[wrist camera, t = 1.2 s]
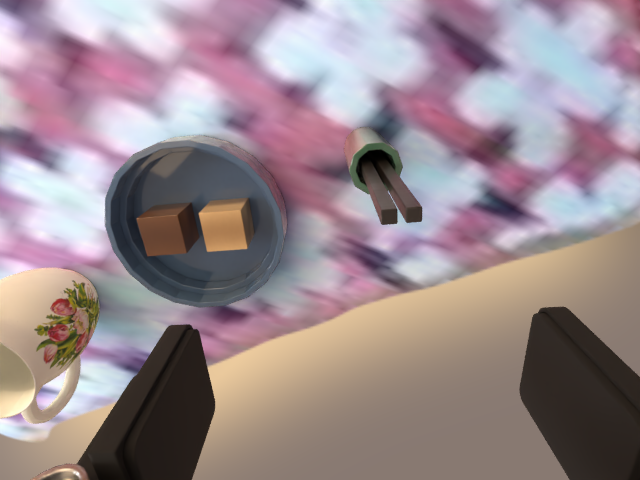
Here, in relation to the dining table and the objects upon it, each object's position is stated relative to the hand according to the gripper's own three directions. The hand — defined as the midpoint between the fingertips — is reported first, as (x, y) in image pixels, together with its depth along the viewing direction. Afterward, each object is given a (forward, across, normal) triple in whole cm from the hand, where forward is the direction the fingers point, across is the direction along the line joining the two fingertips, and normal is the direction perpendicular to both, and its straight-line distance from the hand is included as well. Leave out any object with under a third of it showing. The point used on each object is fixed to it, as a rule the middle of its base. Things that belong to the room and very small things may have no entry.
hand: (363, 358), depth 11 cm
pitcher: (+30, +32, +15) cm, 46 cm away
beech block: (+29, +11, +5) cm, 31 cm away
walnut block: (+29, +17, +6) cm, 34 cm away
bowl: (+29, +14, +6) cm, 33 cm away
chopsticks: (+29, -3, -1) cm, 29 cm away
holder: (+29, -3, -1) cm, 30 cm away
